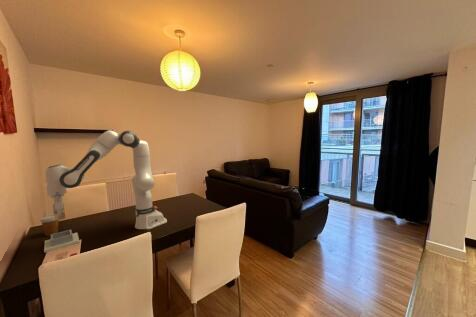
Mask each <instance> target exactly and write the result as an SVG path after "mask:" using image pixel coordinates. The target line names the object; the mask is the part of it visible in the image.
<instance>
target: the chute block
mask: <svg viewBox="0 0 476 317" xmlns="http://www.w3.org/2000/svg"><path fill="white" fill-rule="evenodd" d="M62 203H63V208H62V209H61V214H60V215H57V210H55V208H54V203H53V204H52V212H53V215H54V221H56V220H58V221H60V220H64V219H66V215H65V214H66V212H65V211H66V210H65V203H64V202H62Z"/></svg>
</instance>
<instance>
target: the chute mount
mask: <svg viewBox="0 0 476 317" xmlns="http://www.w3.org/2000/svg"><path fill="white" fill-rule="evenodd" d="M76 243H77V244H80V237H79V233H78V232H74V233H73V231H72V229H68V230H64V231H60V232H59V231H58V233H55V234H51V235H50V239H47V240H44V247H43V248H44V249H43V252H44V254H45V253H48V251H49V252H51V251H50V250H52V251H54V250H53V249H56V250H58V249H57V248H59V249H62V248H61V247H63V248H66V247H70V246H72V245H76ZM69 245H70V246H69Z"/></svg>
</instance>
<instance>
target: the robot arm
mask: <svg viewBox="0 0 476 317" xmlns="http://www.w3.org/2000/svg"><path fill="white" fill-rule="evenodd" d="M118 145H122V146H123V147H127V148H131V149H132V154H133V155H132V157H133V158H132V159H133V160H132V161H133V168H134V172H135V174H134V175H133V176H132V177H131V178H132V179H131V182H132V187H133V193H134V198H135V219H136V220H135V224H134V228H135V229H137V230H151V229H154V228H157V227H160V226H161V225H163V224H164V225H165V224H166V223H167V222H168V220H167V218H166V217H164V214H163V213H162V212H161V211H159V210H157V209H158V207H157V206H156V205H153V196H152V192H151V190H152V189H153V188H154V187H155V184H156V182H155V179H154V177H153V171H152V168H151V166H152V165H151V153H150V152H151V151H150V147H149V143H148V142H147V141H145V140H140V138H139V137H138V136H137V134H136V133H135V132H134V131H131V130H124V131H121V132H120V133H118V132H116V131H114V130H111V129H109V130H106V131H104V132H103V133H101V135H99V136H98V137H97V138H96V139H95V140H94V141H93V142H92V144H91V145H90V147H89V148H88V150H87V152H86V154H85V155H84V157H82V159H81V160H80V161H79V162H78V163H77V164H76V165H75V166H74V167H73V168H72V167H69V166H65V165H63V164H55V165H51V166H47V168H46V169H45V182H46V184H47V185H46V194H47V196H48V197H50V199H53V204H54V208H55V210H57V215H60V214H61V209H62V208H63V203H64V202H63V197H64V196H65V194H67V192H68V191H67V189H74V188H76V187H78V186H79V185H81V183H82V182H83V180H84V178H85V173H86V172H87V171H88V170H90V168H91V167H92V166H93V165H95V164H96V162H98V161H100V160H102V159H103V158H105V157H106V156H108V155H109V154H110V153H111V151H112V150H113V149H115V147H117V146H118Z"/></svg>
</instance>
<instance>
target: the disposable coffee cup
mask: <svg viewBox="0 0 476 317" xmlns="http://www.w3.org/2000/svg"><path fill="white" fill-rule="evenodd" d="M40 222H41V225H42V228H43V232H44V236H46V237H49V236H50V237H51V234H55V233H59V220H56V221H54V214H51V215H46V216H42V217H41V219H40Z"/></svg>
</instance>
